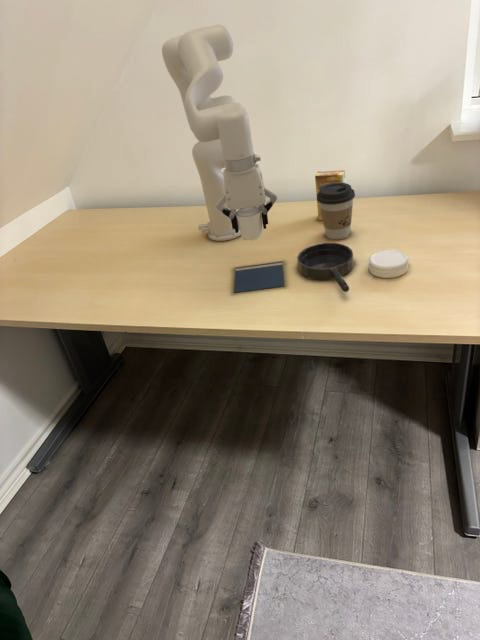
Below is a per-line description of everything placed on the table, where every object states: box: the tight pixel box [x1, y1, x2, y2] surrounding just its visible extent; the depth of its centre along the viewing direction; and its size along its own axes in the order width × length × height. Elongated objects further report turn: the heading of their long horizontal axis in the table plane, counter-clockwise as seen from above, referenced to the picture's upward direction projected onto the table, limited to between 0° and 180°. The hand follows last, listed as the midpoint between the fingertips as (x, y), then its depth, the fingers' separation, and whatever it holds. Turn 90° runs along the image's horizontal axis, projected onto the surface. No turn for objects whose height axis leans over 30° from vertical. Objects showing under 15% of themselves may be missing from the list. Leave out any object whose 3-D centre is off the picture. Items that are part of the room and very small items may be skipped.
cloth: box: [233, 260, 286, 294], centre depth 142 cm, size 14×14×1 cm
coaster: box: [368, 249, 409, 279], centre depth 133 cm, size 10×10×4 cm
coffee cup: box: [316, 182, 356, 241], centre depth 151 cm, size 11×11×15 cm
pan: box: [297, 242, 355, 281], centre depth 140 cm, size 15×15×4 cm
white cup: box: [235, 206, 263, 241], centre depth 133 cm, size 7×7×7 cm
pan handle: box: [330, 267, 350, 293], centre depth 128 cm, size 12×2×2 cm, turn 8°
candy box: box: [314, 170, 346, 221], centre depth 162 cm, size 9×4×15 cm, turn 70°
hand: (250, 228), depth 133 cm, fingers closed on white cup, 6 cm apart
